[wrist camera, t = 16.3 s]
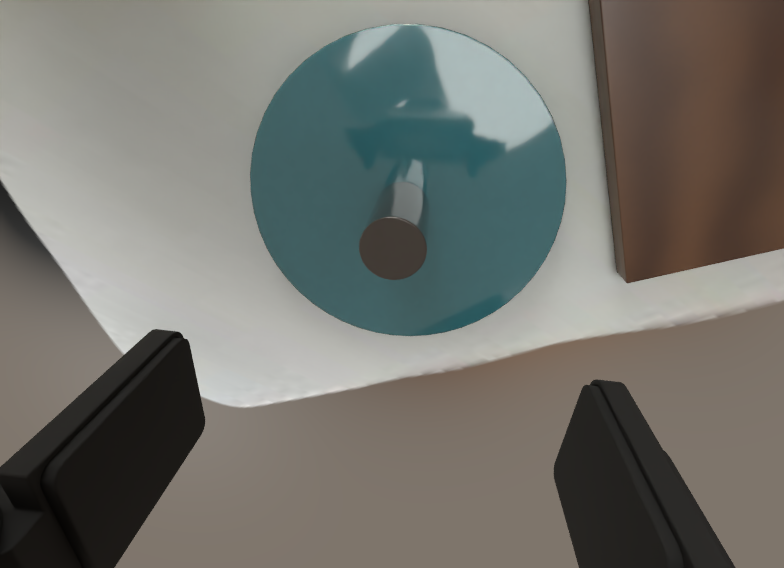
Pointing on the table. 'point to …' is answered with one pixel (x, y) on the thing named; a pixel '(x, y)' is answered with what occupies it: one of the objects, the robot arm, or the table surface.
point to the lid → (408, 179)
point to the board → (691, 130)
